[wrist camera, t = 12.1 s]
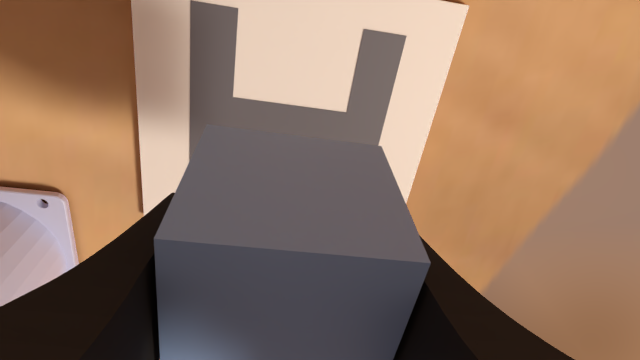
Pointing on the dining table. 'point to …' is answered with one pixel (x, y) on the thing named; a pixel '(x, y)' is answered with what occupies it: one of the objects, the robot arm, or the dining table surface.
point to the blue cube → (285, 252)
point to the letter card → (289, 75)
